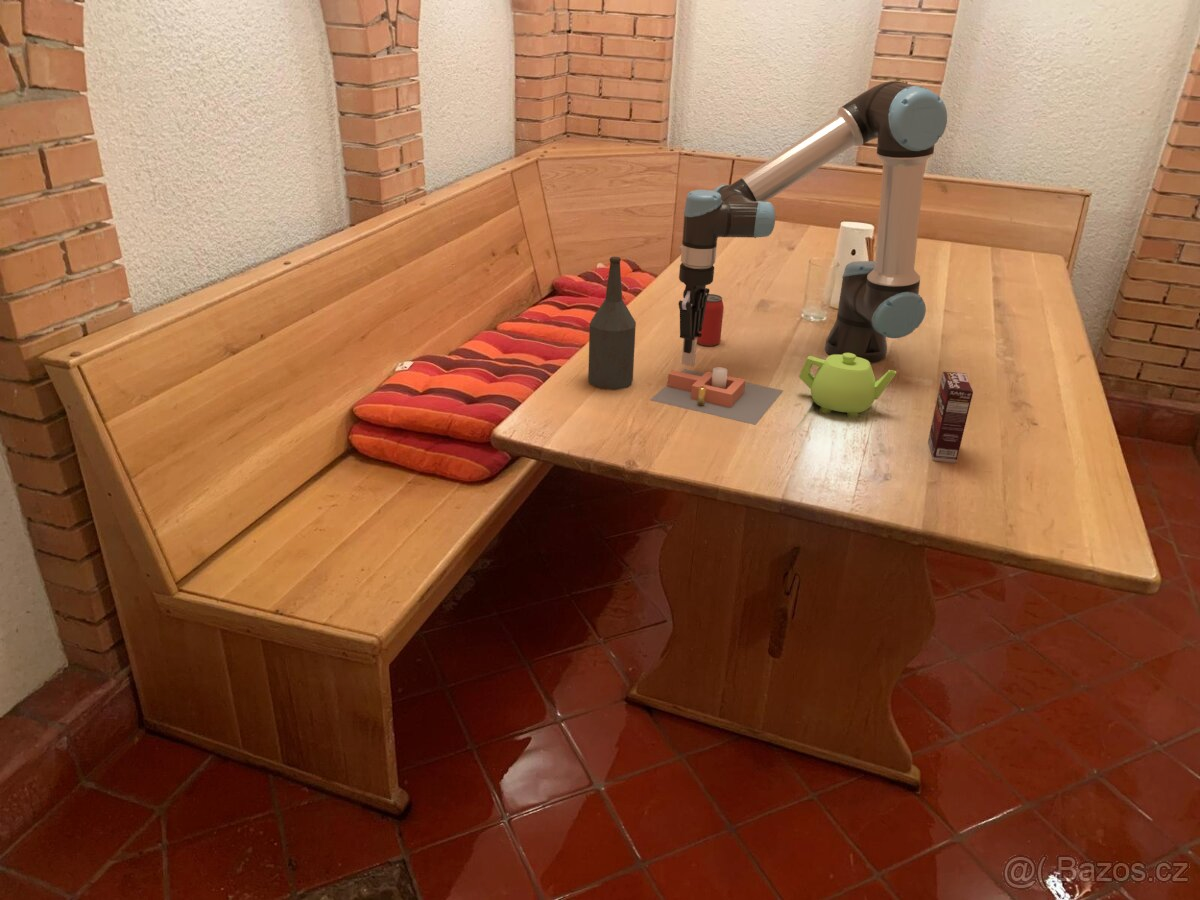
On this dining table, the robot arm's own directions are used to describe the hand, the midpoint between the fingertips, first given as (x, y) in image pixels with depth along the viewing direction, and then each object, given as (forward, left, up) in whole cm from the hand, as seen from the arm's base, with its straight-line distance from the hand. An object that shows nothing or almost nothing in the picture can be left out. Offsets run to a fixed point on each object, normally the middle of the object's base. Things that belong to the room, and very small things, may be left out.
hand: (688, 364), depth 209 cm
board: (-10, +7, -4) cm, 13 cm away
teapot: (-35, -4, -4) cm, 36 cm away
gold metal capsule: (-9, +14, -3) cm, 17 cm away
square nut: (-7, +7, -3) cm, 10 cm away
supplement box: (-58, +7, -4) cm, 59 cm away
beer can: (+5, -26, -4) cm, 27 cm away
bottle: (+14, +12, -4) cm, 19 cm away
